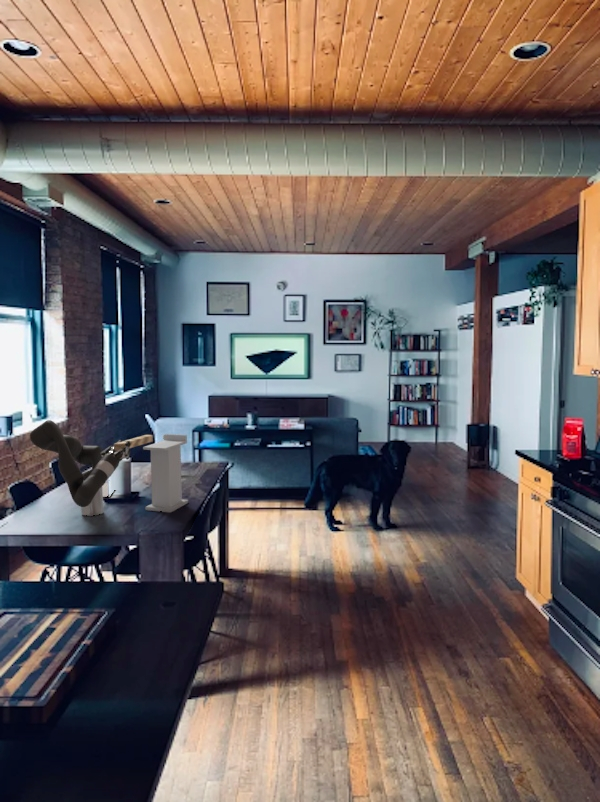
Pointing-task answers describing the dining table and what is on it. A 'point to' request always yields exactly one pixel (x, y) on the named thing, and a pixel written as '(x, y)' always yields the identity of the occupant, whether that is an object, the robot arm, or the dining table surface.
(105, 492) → the baseboard molding
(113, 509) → the dining table surface
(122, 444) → the brown wooden block
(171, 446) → the white plinth column
